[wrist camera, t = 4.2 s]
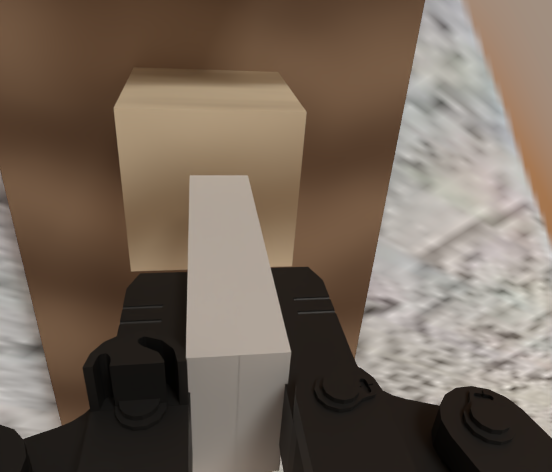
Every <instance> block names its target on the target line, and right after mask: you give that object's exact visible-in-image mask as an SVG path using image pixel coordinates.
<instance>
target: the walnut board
mask: <svg viewBox="0 0 552 472" xmlns="http://www.w3.org/2000/svg"><path fill="white" fill-rule="evenodd" d="M424 3H425V0H0V170H1V174H2V179H3V183H4V187H5V191H6V195H7V199H8V203H9V208H10V212H11V216H12V220H13V224H14V228H15V233H16V237H17V241H18V245H19V249H20V253H21V258H22V262H23V266H24V270H25V274H26V278H27V282H28V287H29V291H30V295H31V299H32V303H33V307H34V312H35V316H36V320H37V324H38V328H39V332H40V337H41V341H42V345H43V349H44V353H45V357H46V361H47V366H48V370H49V374H50V378H51V382H52V386H53V391H54V395H55V399H56V403H57V407H58V411H59V416H60V420H61V424H62V425H65V424H67V423H69V422H71V421H73V420H75V419H76V418H78V417H80V416H81V415H83V414H84V413H86V412H87V411H88V410H89V409H90V406H89V401H88V395H87V390H86V385H85V379H84V374H83V369H82V367H83V366H84V364H85V362H86V360H87V358H88V356H89V355H90V353H91V352H92V351H94V350H95V349H96V348H97V347H98V346H100V345H101V344H102V343H103V342H105V341H107V340H109V339H111V338H114V337H116V336H117V333H118V328H119V325H120V318H121V313H122V310H123V303H124V298H125V293H126V289H127V287H128V286H129V285H130V284H131V283H132V282H133V281H134V280H135V278H136V277H137V276H138V275H139V274H140V273H166V272H188V270H160V271H131V267H130V257H129V248H128V239H127V229H126V220H125V211H124V201H123V192H122V182H121V173H120V164H119V154H118V145H117V136H116V126H115V117H114V106H115V104H116V102H117V100H118V98H119V96H120V94H121V92H122V90H123V88H124V86H125V84H126V82H127V80H128V78H129V76H130V74H131V72H132V70H133V68H134V67H143V68H172V69H202V70H232V71H261V72H279V74H280V75H281V77H282V78H283V79H284V81H285V82H286V84H287V85H288V86H289V88H290V89H291V91H292V92H293V93H294V95H295V96H296V98H297V99H298V101H299V102H300V103H301V105H302V106H303V108H304V109H305V110H306V112H307V114H306V124H305V135H304V145H303V156H302V166H301V177H300V187H299V198H298V208H297V219H296V229H295V240H294V250H293V261H292V266H285V267H309V268H310V269H311V270H312V271H314V272H315V273H316V274H317V275H318V276H319V277H320V278H321V279H322V280H323V281H324V284H325V286H326V289H327V291H328V294H329V299H331V302H332V304H333V307H334V309H335V313H336V314H337V317H338V319H339V322H340V324H341V327H342V329H343V332H344V334H345V337H346V339H347V342H348V344H349V347H350V349H351V352H352V354H353V357H354V359H355V354H356V349H357V344H358V338H359V333H360V328H361V323H362V318H363V313H364V308H365V303H366V298H367V293H368V288H369V282H370V277H371V272H372V267H373V262H374V257H375V252H376V247H377V242H378V237H379V232H380V226H381V221H382V216H383V211H384V206H385V201H386V196H387V191H388V186H389V181H390V176H391V170H392V165H393V160H394V155H395V150H396V145H397V140H398V135H399V130H400V125H401V120H402V115H403V109H404V104H405V99H406V94H407V89H408V84H409V79H410V74H411V69H412V64H413V59H414V53H415V48H416V43H417V38H418V33H419V28H420V23H421V18H422V13H423V8H424ZM270 268H278V267H270Z"/></svg>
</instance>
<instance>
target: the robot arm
mask: <svg viewBox="0 0 552 472" xmlns="http://www.w3.org/2000/svg"><path fill="white" fill-rule="evenodd" d="M82 369H83V374H84V379H85V385H86V390H87V395H88V401H89V406H90V409H89V410H88V411H87V412H86V413H84V414H83V415H81V416H80V417H78V418H76V419H75V420H73V421H71V422H69V423H67V424H65V425H62V426H60V427H58V428H55V429H52V430H49V431H46V432H43V433H40V434H37V435H34V436H31V437H28V438H25V439H22V438H21V437H20V435H19V434H18V433H17V432H16V431H15V430H14V429H11V428H8V427H5V426H2V425H0V472H269V471H279V466H280V456H281V459H282V465H283V471H284V472H552V438H551V437H550V436H549V435H548V434H547V433H546V432H545V431H544V430H543V429H542V428H541V427H540V426H539V425H538V424H537V423H535V422H534V421H533V420H532V419H531V418H530V417H529V416H528V415H527V414H526V413H525V412H524V411H523V410H522V409H521V408H520V407H518V406H517V405H516V404H514V403H513V402H512V401H510V400H509V399H508V398H506V397H504V396H502V395H500V394H498V393H495V392H493V391H491V390H489V389H483V388H478V387H473V386H469V387H460V388H455V389H454V390H452V391H450V392H449V393H447V394H445V396H444V398H443V400H442V402H441V404H440V406H438V405H433V404H428V403H423V402H418V401H413V400H408V399H404V398H400V397H397V396H393V395H391V394H389V393H387V392H385V391H383V390H382V389H381V388H380V386H379V385H378V383H377V382H376V380H375V379H374V378H373V377H372V376H371V375H369V374H368V373H367V372H365V371H364V370H363V369H361V368H359V367H358V366H357V364H356V362H355V359H354V357H353V354H352V352H351V349H350V347H349V344H348V342H347V339H346V337H345V334H344V332H343V329H342V327H341V324H340V322H339V319H338V317H337V314H336V313H335V309H334V307H333V304H332V302H331V299H329V294H328V291H327V289H326V286H325V284H324V281H323V280H322V279H321V278H320V277H319V276H318V275H317V274H316V273H315V272H314V271H312V270H311V269H310V268H309V267H278V268H270V264H269V260H268V255H267V251H266V247H265V243H264V239H263V235H262V231H261V227H260V223H259V219H258V215H257V211H256V206H255V202H254V198H253V194H252V190H251V186H250V182H249V178H248V175H190V183H189V230H188V272H166V273H140V274H139V275H138V276H137V277H136V278H135V280H134V281H133V282H132V283H131V284H130V285H129V286H128V287H127V289H126V293H125V298H124V303H123V310H122V313H121V318H120V325H119V328H118V333H117V336H116V337H114V338H111V339H109V340H107V341H105V342H103V343H102V344H101V345H100V346H98V347H97V348H96V349H95V350H94V351H92V352H91V353H90V355H89V356H88V358H87V360H86V362H85V364H84V366H83V367H82Z"/></svg>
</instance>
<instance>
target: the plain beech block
mask: <svg viewBox="0 0 552 472" xmlns="http://www.w3.org/2000/svg"><path fill="white" fill-rule="evenodd" d="M306 114H307V112H306V110H305V109H304V108H303V106H302V105H301V103H300V102H299V101H298V99H297V98H296V96H295V95H294V93H293V92H292V91H291V89H290V88H289V86H288V85H287V84H286V82H285V81H284V79H283V78H282V77H281V75H280V74H279V72H261V71H232V70H202V69H172V68H143V67H134V68H133V70H132V72H131V74H130V76H129V78H128V80H127V82H126V84H125V86H124V88H123V90H122V92H121V94H120V96H119V98H118V100H117V102H116V104H115V106H114V117H115V126H116V136H117V145H118V154H119V164H120V173H121V182H122V192H123V201H124V211H125V220H126V229H127V239H128V248H129V257H130V267H131V271H160V270H188V230H189V183H190V175H248V178H249V182H250V186H251V190H252V194H253V198H254V202H255V206H256V211H257V215H258V219H259V223H260V227H261V231H262V235H263V239H264V243H265V247H266V251H267V255H268V260H269V264H270V267H285V266H292V261H293V250H294V240H295V229H296V219H297V208H298V198H299V187H300V177H301V166H302V156H303V145H304V135H305V124H306Z"/></svg>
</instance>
